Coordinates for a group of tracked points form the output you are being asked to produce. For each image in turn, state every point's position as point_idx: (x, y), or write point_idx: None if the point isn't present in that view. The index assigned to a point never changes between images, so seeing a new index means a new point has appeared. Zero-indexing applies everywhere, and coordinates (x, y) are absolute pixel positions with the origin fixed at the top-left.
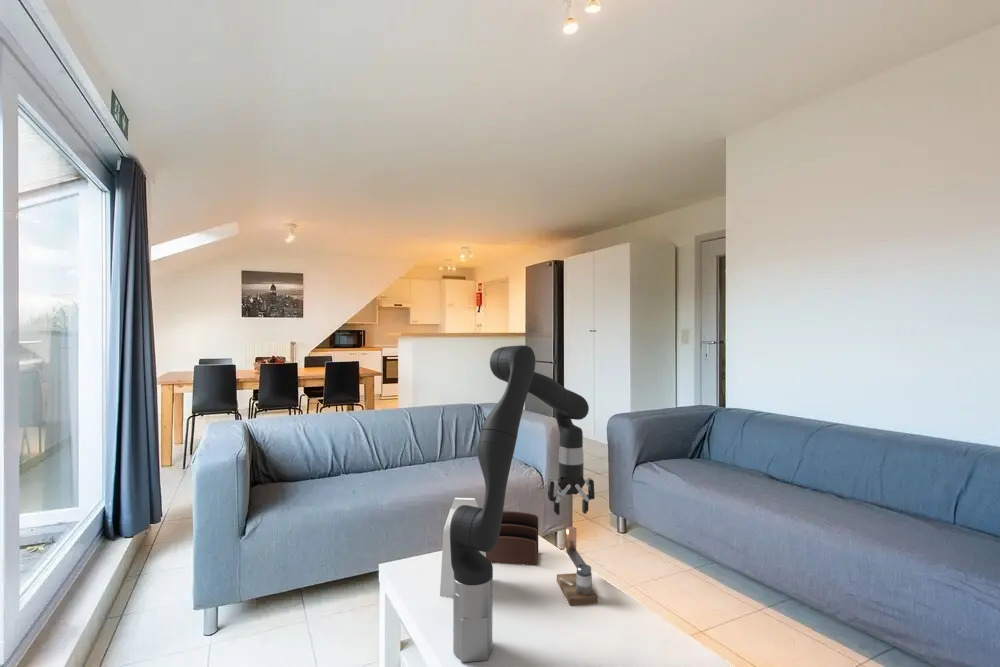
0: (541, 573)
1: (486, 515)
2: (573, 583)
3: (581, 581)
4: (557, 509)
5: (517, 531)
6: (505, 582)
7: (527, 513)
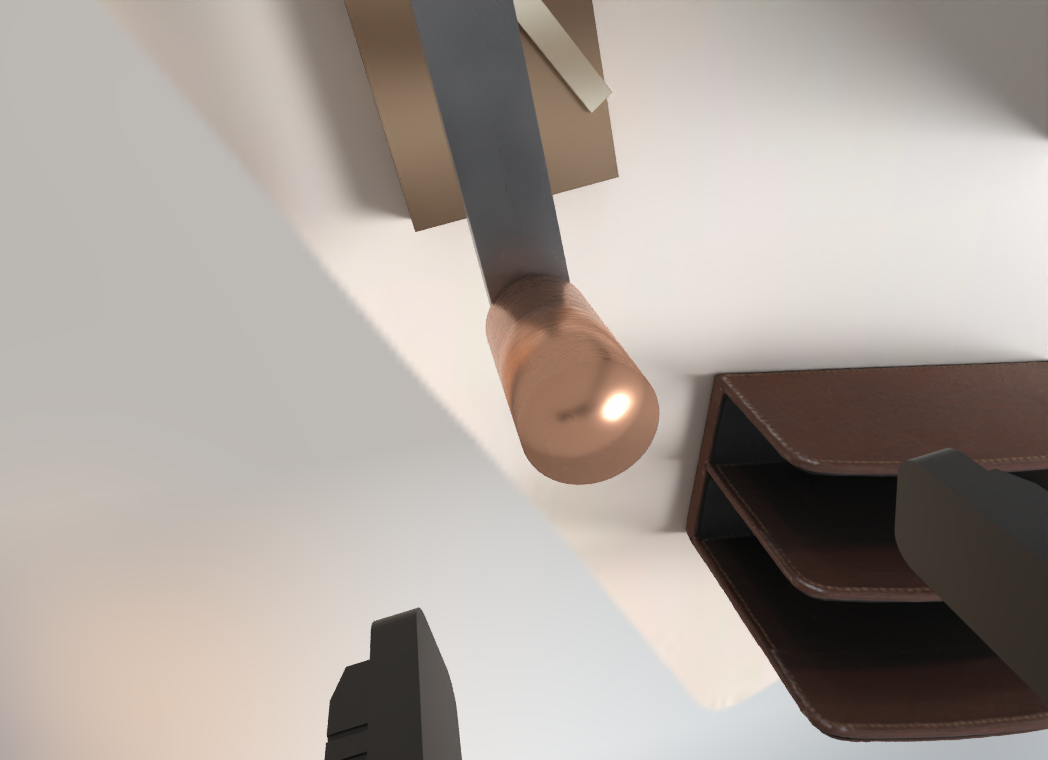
0: (696, 270)
1: None
2: None
3: None
4: (1032, 505)
5: None
6: (952, 104)
7: (914, 737)
